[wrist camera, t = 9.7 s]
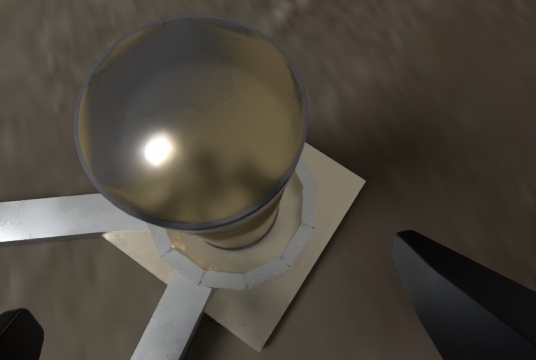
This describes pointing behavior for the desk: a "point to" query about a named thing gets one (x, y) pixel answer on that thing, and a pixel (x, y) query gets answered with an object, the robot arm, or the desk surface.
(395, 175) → the desk surface
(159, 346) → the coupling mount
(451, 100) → the desk surface
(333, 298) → the desk surface
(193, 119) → the glass jar
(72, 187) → the desk surface
